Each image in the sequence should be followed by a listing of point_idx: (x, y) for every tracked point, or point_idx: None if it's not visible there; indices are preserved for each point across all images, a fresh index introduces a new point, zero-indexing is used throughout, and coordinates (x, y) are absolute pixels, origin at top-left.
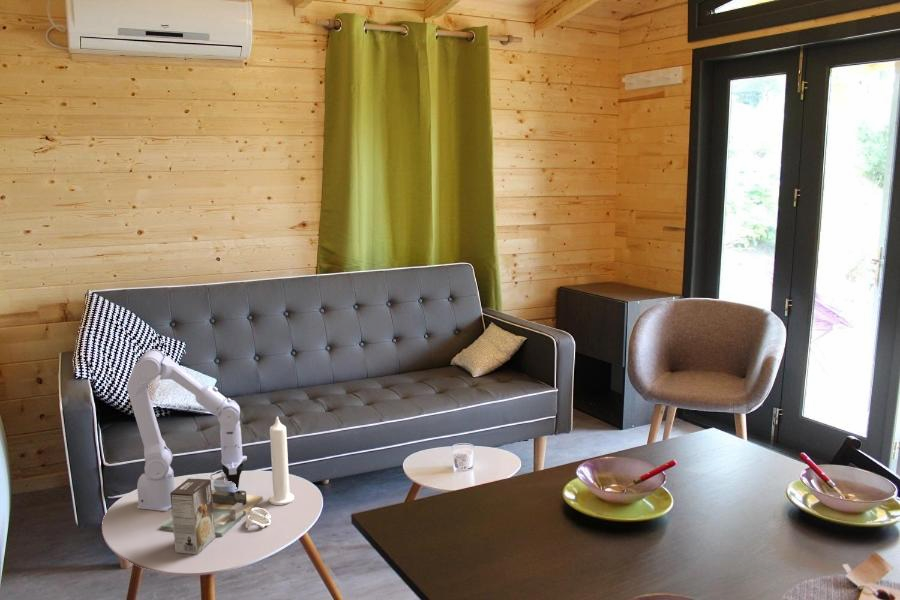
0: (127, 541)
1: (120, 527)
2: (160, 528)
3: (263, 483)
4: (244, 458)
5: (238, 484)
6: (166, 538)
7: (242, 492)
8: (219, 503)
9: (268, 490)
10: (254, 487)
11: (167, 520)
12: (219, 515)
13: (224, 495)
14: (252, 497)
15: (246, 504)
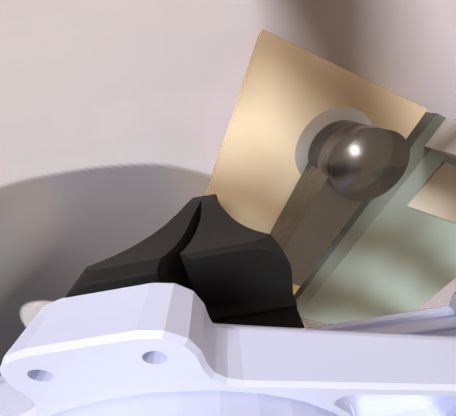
0: None
1: None
2: None
3: (24, 66)
4: (197, 360)
5: (218, 201)
6: (440, 305)
7: (370, 154)
8: None
9: (123, 9)
10: (93, 116)
11: None
12: (406, 215)
13: (332, 240)
14: (265, 99)
15: (352, 118)
